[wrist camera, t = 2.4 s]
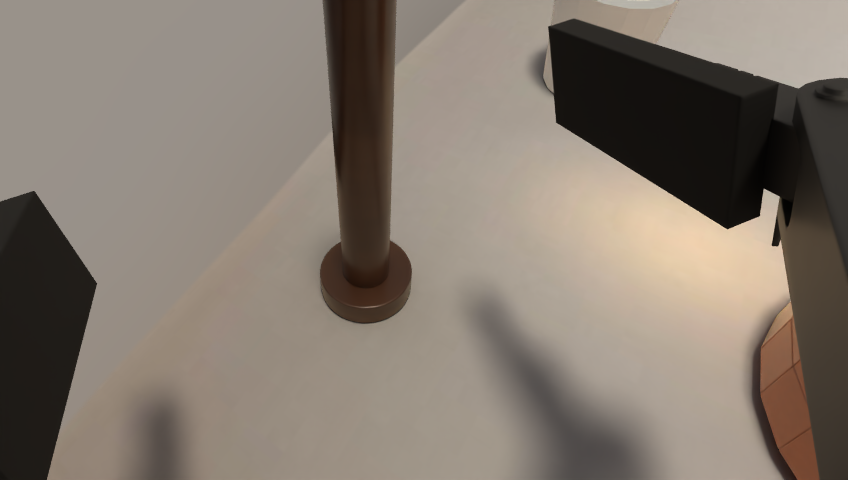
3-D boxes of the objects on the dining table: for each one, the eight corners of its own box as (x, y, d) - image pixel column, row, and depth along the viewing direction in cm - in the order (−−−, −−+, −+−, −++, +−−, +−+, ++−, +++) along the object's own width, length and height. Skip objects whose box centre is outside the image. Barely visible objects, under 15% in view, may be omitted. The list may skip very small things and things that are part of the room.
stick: (307, 272, 27) (230, -215, 13) (382, 239, 28) (388, -228, 14) (347, 338, 24) (309, -156, 11) (427, 298, 26) (484, -178, 12)
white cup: (660, 106, 36) (709, -1, 31) (562, 122, 35) (596, 13, 29) (606, 46, 40) (641, -58, 35) (516, 58, 39) (539, -49, 33)
